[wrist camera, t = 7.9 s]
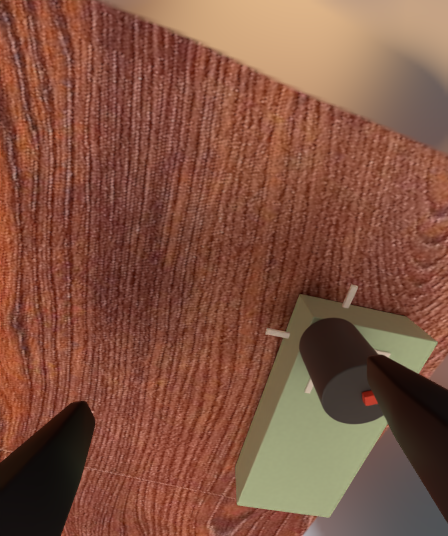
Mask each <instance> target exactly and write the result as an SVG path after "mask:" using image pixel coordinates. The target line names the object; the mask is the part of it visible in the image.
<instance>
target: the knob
mask: <svg viewBox="0 0 448 536" xmlns="http://www.w3.org/2000/svg"><path fill="white" fill-rule="evenodd" d="M299 351H300V354H301V357H302V359H303V361H304V364H305V366H306V369H307V371H308V373H309V376H310V378H311V381H312V383H313V385H314V388H315V390H316V393H317V395H318V397H319V400H320V402H321V405H322V407H323V409H324V411H325V412H326V413H327V414H328V415H329V416H330V417H331V418H332V419H334V420H336V421H338V422H341V423H345V424H363V423H368V422H371V421H374V420H376V419H378V418H380V417H382V416H384V415H383V413H382V411H381V409H380V406H379V404H378V402H377V400H376V398H375V396H374V394H373V392H372V390H371V388H370V386H369V384H368V381H367V358H368V356H372V355H378V353H377V352H376V351H375V350H374V349H373V347H372V346H371V345H370V344H369V343H368V341H367V340H366V339H365V338H364V337H363V335H362V334H361V333H360V332H359V331H358V329H357V328H356V327H355V326H354V325H353V324H352V323H351V322H349V321H347V320H345V319H341V318H325V319H322V320H319V321H317V322H315V323H313V324H312V325H310V326H309V327H308V328H307V329H306V330H305V331H304V333H303V334H302V336H301V339H300V342H299Z"/></svg>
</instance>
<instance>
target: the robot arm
mask: <svg viewBox="0 0 448 536" xmlns="http://www.w3.org/2000/svg"><path fill="white" fill-rule="evenodd" d="M367 381H368V384H369V386H370V388H371V390H372V392H373V394H374V396H375V398H376V400H377V402H378V404H379V406H380V409H381V411H382V413H383V415H384V417H385V419H386V421H387V423H388V425H389V427H390V429H391V431H392V432H393V435H394V436H395V438H396V440H397V442H398V443H399V445H400V447H401V448H402V450H403V451H404V453H405V455H406V456H407V458H408V459H409V461H410V463H411V464H412V466H413V468H414V469H415V471H416V473H417V474H418V475H419V477H420V479H421V481H422V482H423V484H424V486H425V487H426V489H427V490H428V492H429V494H430V495H431V497H432V499H433V500H434V502H435V503H436V505H437V507H438V508H439V510H440V511H441V513H442V515H443V516H444V518H445V520H446V521H447V523H448V390H447V389H446V388H444V387H442V386H440V385H438V384H436V383H435V382H432V381H431V380H429V379H427V378H425V377H423V376H422V375H420V374H418V373H416V372H414V371H412V370H410V369H409V368H407V367H405V366H403V365H401V364H399V363H397V362H396V361H394V360H392V359H390V358H388V357H386V356H384V355H382V354H378V355H372V356H368V358H367ZM94 428H95V418H94V416H93V414H92V412H91V410H90V408H89V406H88V404H87V402H85V401H78V402H73V403H71V404H69V405H68V406H67V407H66V408H65V409H63V410H62V411H61V412H60V413H59V414H57V415H56V416H55V417H54V418H53V419H52V420H50V421H49V422H48V423H47V424H46V425H44V426H43V427H42V428H41V429H40V430H38V431H37V432H36V433H35V434H34V435H33V436H31V437H30V438H29V439H28V440H27V441H25V442H24V443H23V444H22V445H21V446H20V447H18V448H17V449H16V450H15V451H14V452H12V453H11V454H10V455H9V456H8V457H7V458H5V459H4V460H3V461H2V462H1V463H0V536H61V534H62V531H63V528H64V525H65V522H66V520H67V517H68V514H69V511H70V508H71V506H72V503H73V500H74V497H75V494H76V492H77V489H78V486H79V483H80V480H81V476H82V473H83V470H84V466H85V462H86V458H87V454H88V451H89V447H90V443H91V439H92V435H93V432H94Z"/></svg>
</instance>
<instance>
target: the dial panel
mask: <svg viewBox="0 0 448 536" xmlns="http://www.w3.org/2000/svg"><path fill="white" fill-rule="evenodd" d="M357 289H358V286H357V285H353V284H351V286H350V288H349V291H348V293H347V295H346V297H345V300H344V302H343V303H340V302H336V301H331V300H326V299H322V298H317V297H312V296H308V295H303V294H299V297H298V300H297V302H296V305H295V308H294V310H293V313H292V316H291V318H290V321H289V324H288V326H287V329H286V331H281V330H276V329H271V328H267V329H266V332H265V333H266V334H268V335H273V336H278V337H283V340H282V343H281V345H280V348H279V351H278V353H277V356H276V359H275V361H274V364H273V367H272V369H271V372H270V375H269V377H268V380H267V383H266V386H265V388H264V391H263V394H262V396H261V399H260V402H259V404H258V407H257V410H256V412H255V415H254V418H253V420H252V423H251V426H250V429H249V431H248V434H247V437H246V439H245V442H244V445H243V447H242V450H241V453H240V455H239V458H238V461H237V463H236V466H235V474H236V496H237V505H240V506H248V507H255V508H262V509H270V510H277V511H284V512H292V513H299V514H306V515H314V516H322V517H330V516H331V514H332V513H333V511H334V509H335V508H336V506H337V505H338V503H339V501H340V500H341V498H342V496H343V495H344V493H345V492H346V489H347V488H348V487H349V485H350V483H351V482H352V480H353V479H354V477H355V475H356V474H357V472H358V470H359V469H360V467H361V466H362V464H363V463H364V461H365V459H366V458H367V456H368V454H369V453H370V451H371V450H372V448H373V446H374V445H375V443H376V442H377V440H378V438H379V437H380V435H381V433H382V432H383V430H384V429H385V427H386V425H387V424H388V423H387V421H386V419H385V417H384V416H382V417H380V418H378V419H376V420H374V421H371V422H368V423H363V424H345V423H341V422H338V421H336V420H334V419H332V418H331V417H330V416H329V415H328V414H327V413H326V412H325V411H324V409H323V407H322V405H321V402H320V400H319V397H318V395H317V393H316V390H315V388H314V385H313V383H312V381H311V378H310V376H309V373H308V371H307V369H306V366H305V364H304V361H303V359H302V357H301V354H300V351H299V342H300V339H301V336H302V334H303V333H304V331H305V330H306V329H307V328H308V327H309V326H310V325H312V324H313V323H315V322H317V321H319V320H322V319H325V318H341V319H345V320H347V321H349V322H351V323H352V324H353V325H354V326H355V327H356V328H357V329H358V331H359V332H360V333H361V334H362V335H363V337H364V338H365V339H366V340H367V341H368V343H369V344H370V345H371V346H372V347H373V349H374V350H375V351H376V352H377V353H378V354H382V355H384V356H386V357H388V358H390V359H392V360H394V361H396V362H397V363H399V364H401V365H403V366H405V367H407V368H409V369H410V370H412V371H414V372H416V373H418V374H419V372H420V371H421V369H422V367H423V366H424V364H425V362H426V361H427V359H428V358H429V356H430V354H431V353H432V351H433V350H434V348H435V346H436V345H437V343H438V342H437V341H436V340H434V339H433V338H432V337H431V336H430V335H428V334H427V333H426V332H425V331H423V330H422V329H421V328H420V327H419V326H417V325H416V324H415V323H414V322H412V321H411V320H410V319H409V318H408V317H406V316H401V315H396V314H392V313H387V312H382V311H378V310H373V309H368V308H364V307H359V306H354V305H350V304H351V302H352V300H353V298H354V295H355V293H356V291H357Z"/></svg>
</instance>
